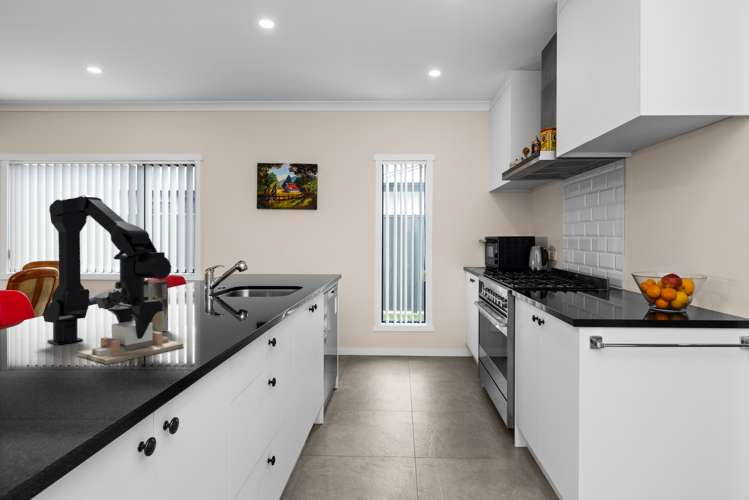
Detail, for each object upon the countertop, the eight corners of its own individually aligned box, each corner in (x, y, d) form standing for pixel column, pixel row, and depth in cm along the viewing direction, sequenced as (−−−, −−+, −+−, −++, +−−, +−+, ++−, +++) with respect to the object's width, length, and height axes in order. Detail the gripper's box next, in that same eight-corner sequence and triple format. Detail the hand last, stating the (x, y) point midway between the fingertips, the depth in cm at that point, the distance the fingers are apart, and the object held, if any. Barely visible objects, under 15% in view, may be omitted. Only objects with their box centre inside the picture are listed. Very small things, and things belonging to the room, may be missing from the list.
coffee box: (151, 329, 142) (151, 280, 142) (168, 330, 141) (169, 280, 141) (130, 335, 133) (130, 282, 133) (148, 336, 132) (148, 283, 132)
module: (111, 345, 114) (111, 324, 114) (138, 340, 120) (138, 320, 120) (125, 349, 111) (125, 327, 111) (152, 343, 117) (152, 323, 117)
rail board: (77, 355, 111) (77, 338, 111) (153, 340, 128) (153, 326, 128) (106, 364, 103) (106, 346, 103) (183, 347, 120) (183, 332, 120)
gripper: (80, 277, 113) (80, 337, 114) (120, 282, 103) (120, 348, 104) (124, 274, 123) (124, 330, 123) (164, 278, 113) (164, 339, 113)
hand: (132, 336), depth 115 cm, fingers closed on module, 6 cm apart
